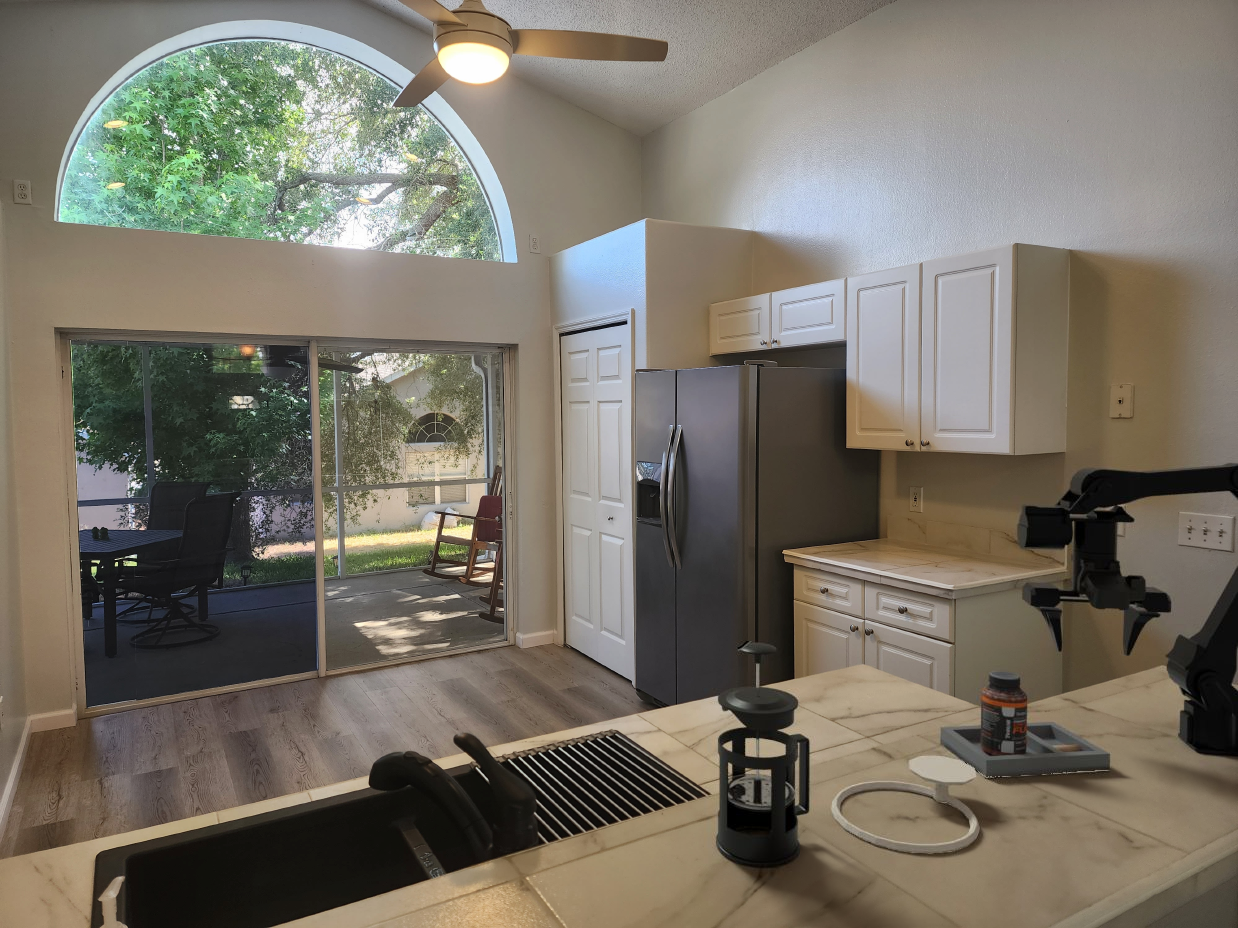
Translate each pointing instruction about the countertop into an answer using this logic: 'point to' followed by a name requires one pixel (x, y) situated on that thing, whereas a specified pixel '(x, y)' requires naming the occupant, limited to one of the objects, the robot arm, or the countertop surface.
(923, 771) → the hand towel holder
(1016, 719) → the supplement bottle
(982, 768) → the divided tray
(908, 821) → the countertop surface
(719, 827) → the french press
